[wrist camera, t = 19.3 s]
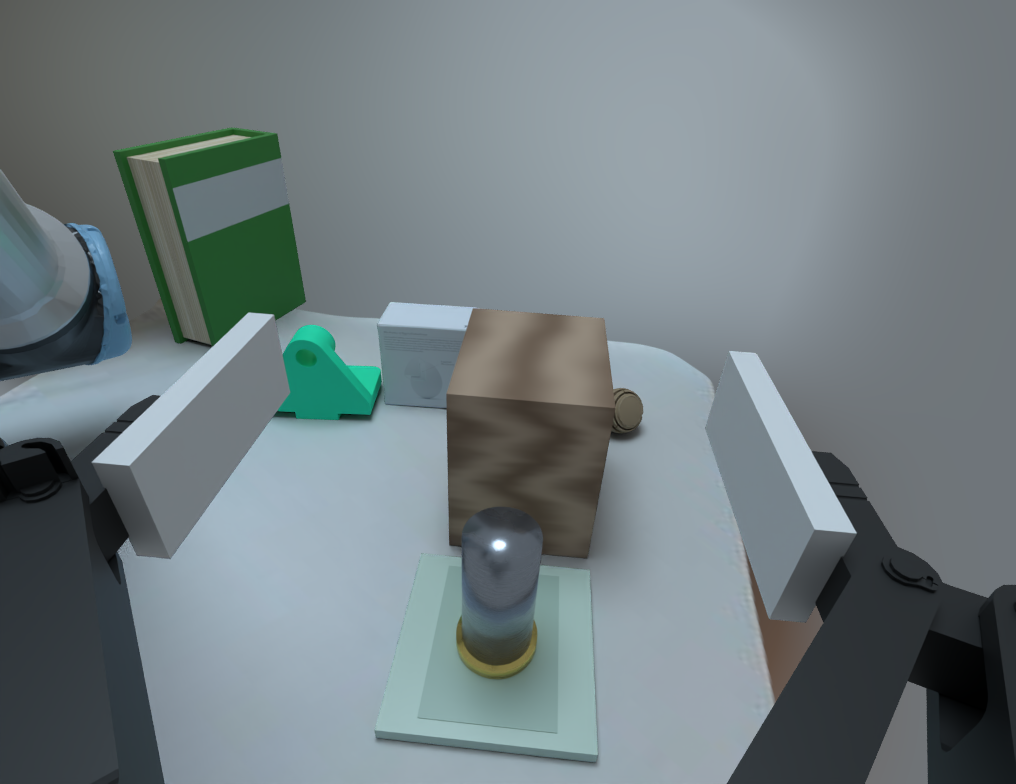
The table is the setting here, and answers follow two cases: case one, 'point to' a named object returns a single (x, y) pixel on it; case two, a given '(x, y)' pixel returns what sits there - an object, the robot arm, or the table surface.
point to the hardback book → (215, 228)
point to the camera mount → (325, 379)
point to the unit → (530, 423)
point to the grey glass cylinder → (499, 592)
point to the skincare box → (420, 351)
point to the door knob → (626, 411)
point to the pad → (494, 702)
